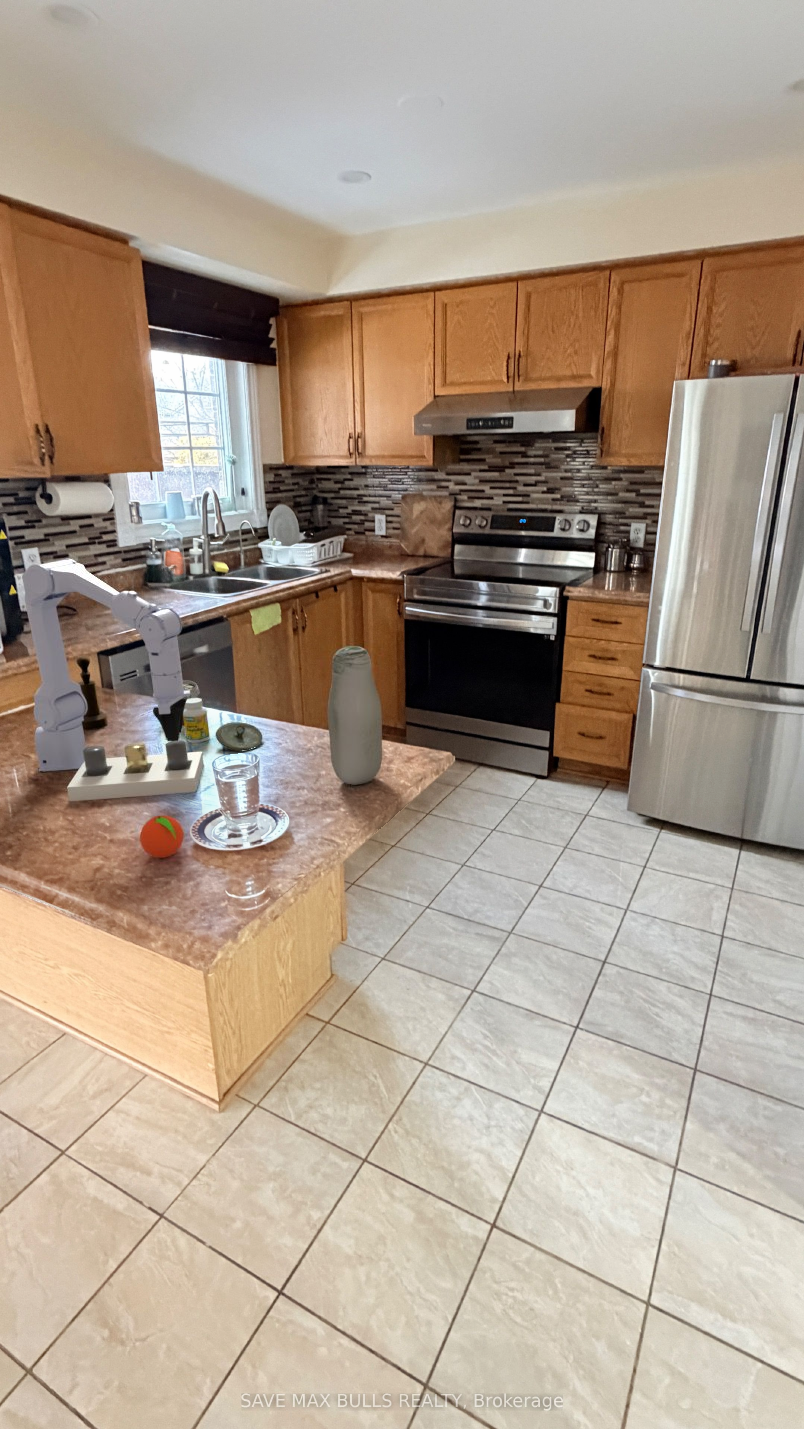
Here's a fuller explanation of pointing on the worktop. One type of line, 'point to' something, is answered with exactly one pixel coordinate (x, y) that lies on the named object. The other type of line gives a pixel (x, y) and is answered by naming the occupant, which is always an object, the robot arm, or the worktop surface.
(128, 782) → the housing
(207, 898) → the worktop surface
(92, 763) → the knob
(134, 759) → the knob middle
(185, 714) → the supplement bottle
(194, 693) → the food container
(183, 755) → the knob
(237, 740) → the lid
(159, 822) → the clementine
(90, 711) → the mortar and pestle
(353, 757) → the grey bottle
